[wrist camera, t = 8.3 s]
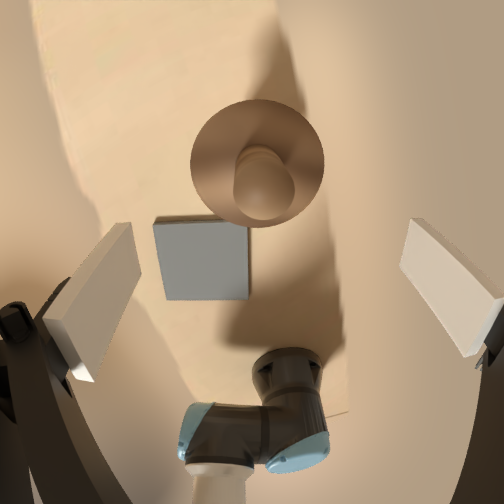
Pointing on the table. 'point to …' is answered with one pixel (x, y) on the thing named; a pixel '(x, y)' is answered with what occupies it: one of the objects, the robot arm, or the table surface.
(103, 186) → the table surface
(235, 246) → the mat
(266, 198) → the lid
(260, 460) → the robot arm
